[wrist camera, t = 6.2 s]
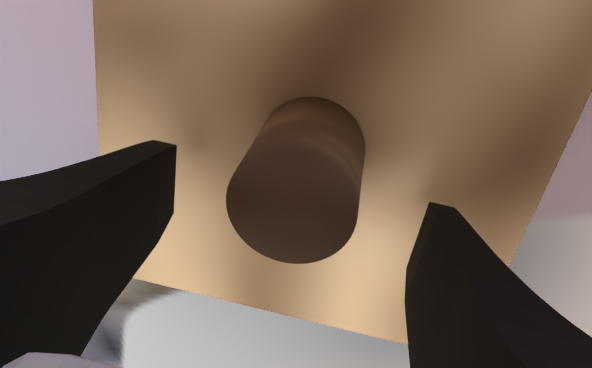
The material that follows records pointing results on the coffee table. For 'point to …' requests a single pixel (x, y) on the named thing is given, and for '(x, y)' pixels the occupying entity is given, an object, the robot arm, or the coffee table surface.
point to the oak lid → (338, 136)
